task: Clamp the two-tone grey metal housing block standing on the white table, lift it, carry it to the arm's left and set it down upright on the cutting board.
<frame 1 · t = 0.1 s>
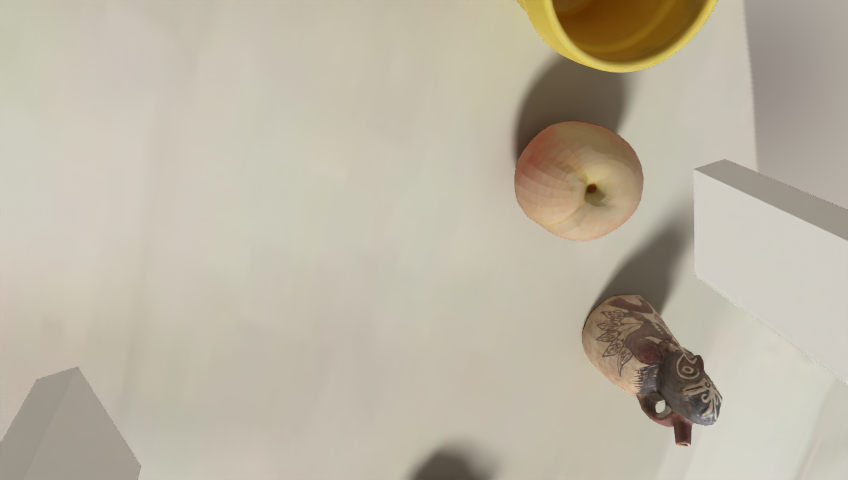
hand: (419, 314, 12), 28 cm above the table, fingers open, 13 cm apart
figurine: (615, 328, 52), on the table
fruit: (550, 162, 43), on the table
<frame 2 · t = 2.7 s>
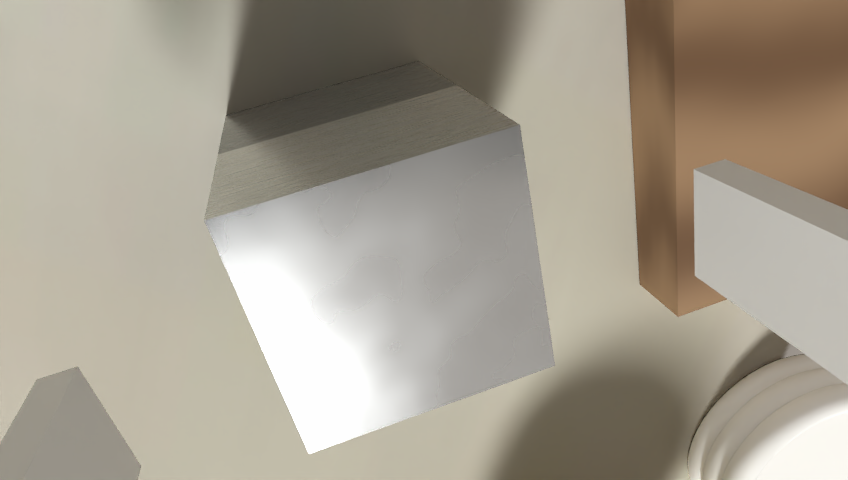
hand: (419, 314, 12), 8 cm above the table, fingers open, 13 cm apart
cutting board: (832, 4, 21), on the table
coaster: (764, 425, 31), on the table
housing: (351, 177, 19), on the table
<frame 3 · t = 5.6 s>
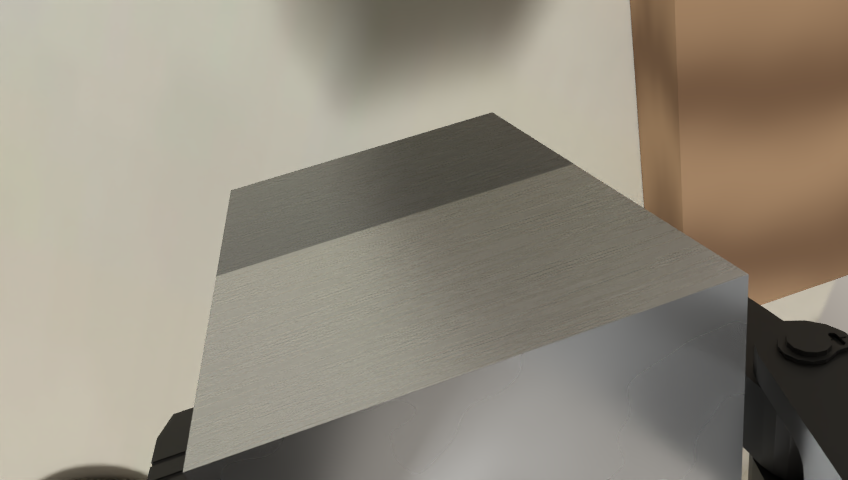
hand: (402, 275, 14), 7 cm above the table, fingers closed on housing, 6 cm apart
cutting board: (832, 33, 22), on the table
housing: (398, 265, 14), point 7 cm above the table, touching gripper
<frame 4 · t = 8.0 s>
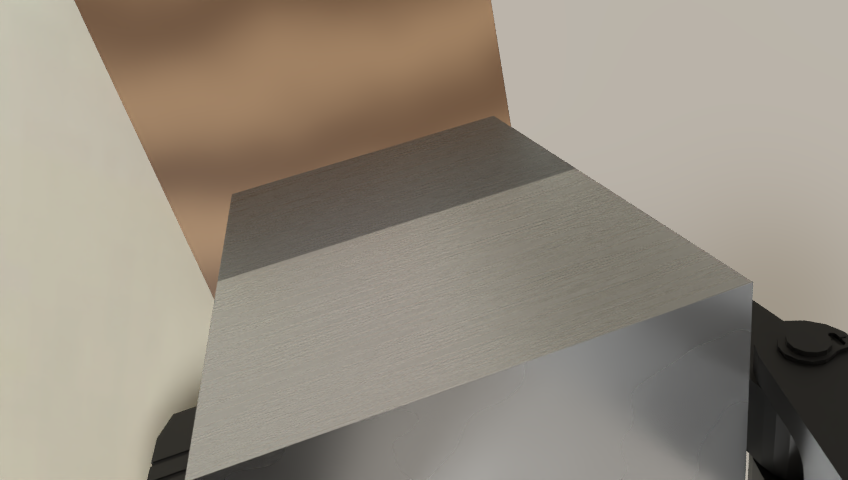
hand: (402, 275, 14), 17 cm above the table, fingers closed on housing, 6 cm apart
cutting board: (332, 119, 28), on the table
housing: (399, 268, 14), point 16 cm above the table, touching gripper
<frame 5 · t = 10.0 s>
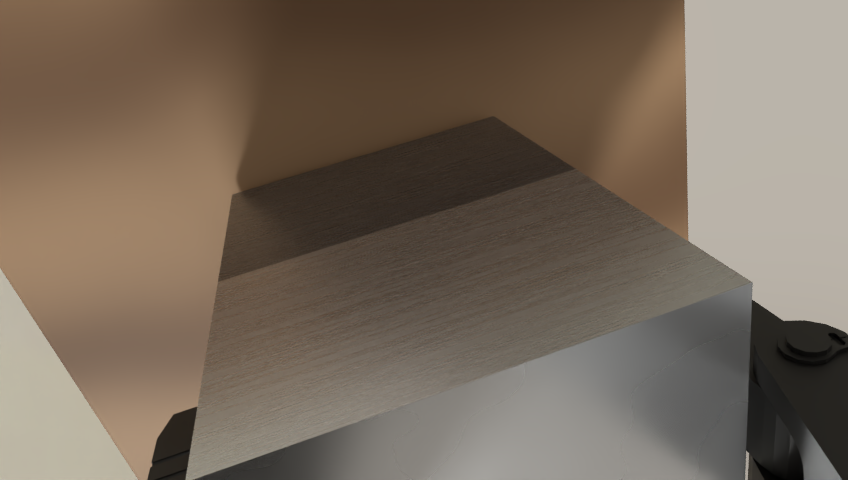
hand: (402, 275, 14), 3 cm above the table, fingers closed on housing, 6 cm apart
cutting board: (379, 225, 17), on the table
housing: (399, 268, 14), point 3 cm above the table, touching gripper
when the fingers open (3 cm above the table, at t = 11.0 s): housing stays where it is, resting on cutting board.
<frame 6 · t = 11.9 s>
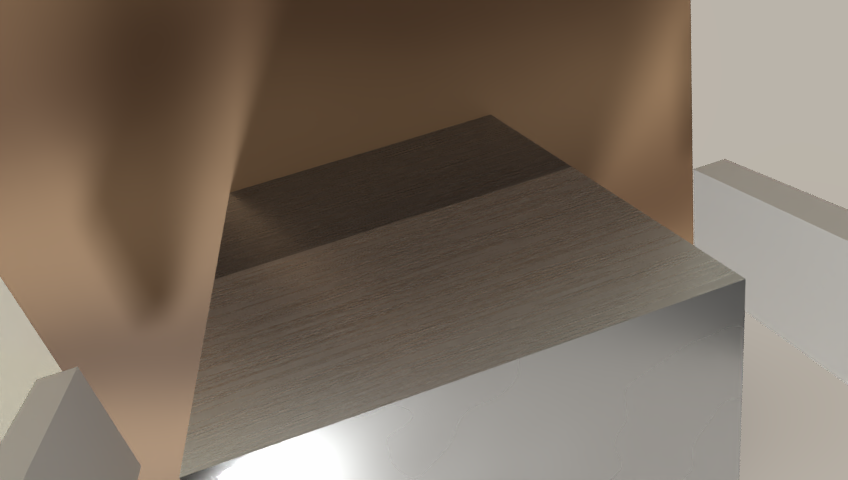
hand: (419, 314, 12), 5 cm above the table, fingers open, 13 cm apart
cutting board: (381, 228, 16), on the table
housing: (396, 267, 14), point 2 cm above the table, touching cutting board
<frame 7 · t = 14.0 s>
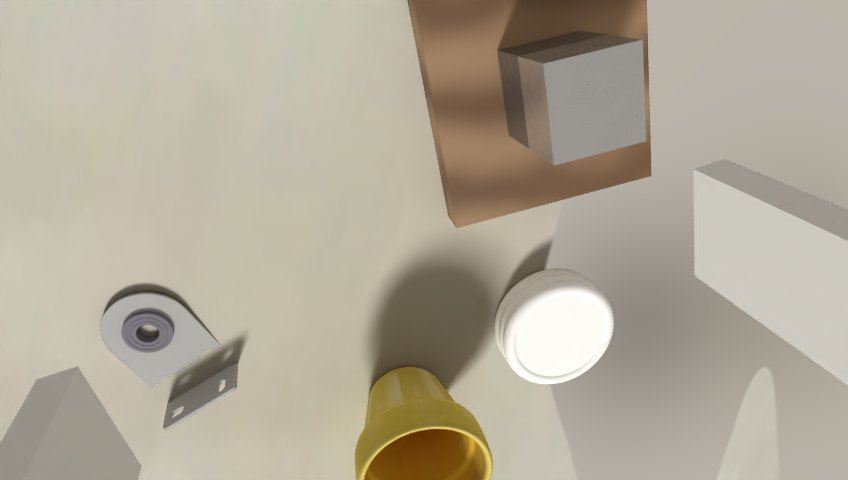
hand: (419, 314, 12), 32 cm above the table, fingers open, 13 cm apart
cutting board: (530, 79, 43), on the table
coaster: (544, 315, 53), on the table
bracket: (168, 347, 46), on the table
housing: (543, 84, 41), point 2 cm above the table, touching cutting board
plant pot: (403, 396, 53), on the table
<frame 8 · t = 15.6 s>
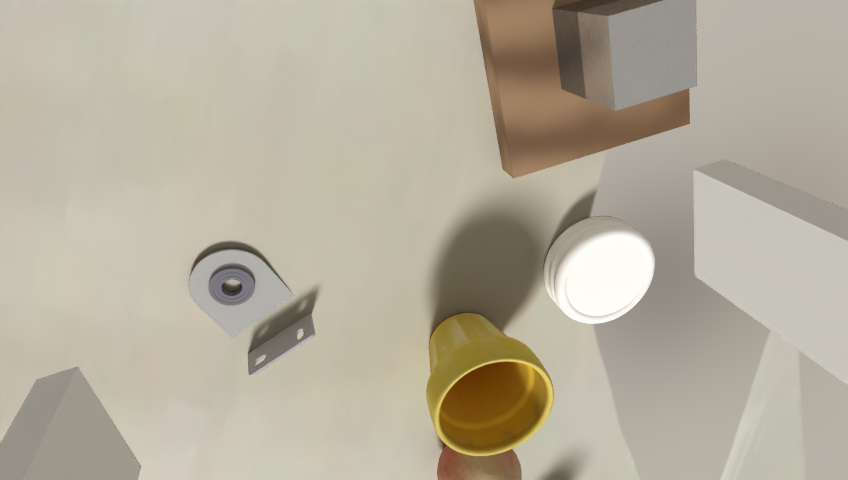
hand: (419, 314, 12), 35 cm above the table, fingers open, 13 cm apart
cutting board: (578, 36, 47), on the table
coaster: (588, 261, 57), on the table
bracket: (247, 301, 50), on the table
housing: (593, 39, 45), point 2 cm above the table, touching cutting board
fruit: (466, 443, 62), on the table
plant pot: (460, 341, 57), on the table
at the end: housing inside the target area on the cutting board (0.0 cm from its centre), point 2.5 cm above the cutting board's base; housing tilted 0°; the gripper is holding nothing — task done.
